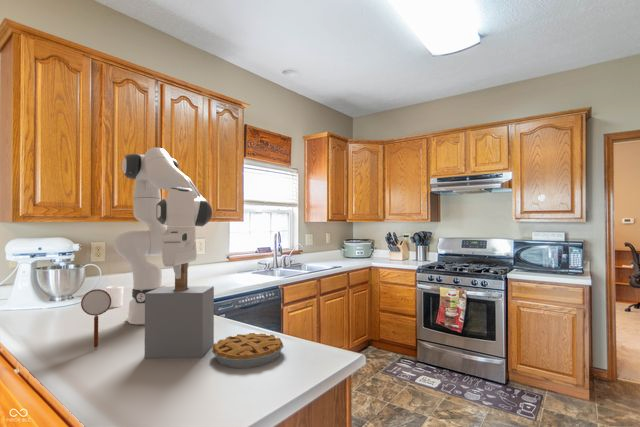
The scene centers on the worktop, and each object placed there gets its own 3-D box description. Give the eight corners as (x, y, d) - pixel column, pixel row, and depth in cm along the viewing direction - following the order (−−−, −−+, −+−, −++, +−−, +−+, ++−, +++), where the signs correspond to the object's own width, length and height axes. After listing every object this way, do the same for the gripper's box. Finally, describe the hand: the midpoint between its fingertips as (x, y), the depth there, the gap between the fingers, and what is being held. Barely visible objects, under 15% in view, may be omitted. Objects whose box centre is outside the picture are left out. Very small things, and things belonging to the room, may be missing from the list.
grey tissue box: (161, 345, 123) (161, 286, 124) (213, 344, 123) (213, 286, 124) (144, 358, 111) (144, 293, 112) (202, 357, 111) (202, 292, 112)
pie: (297, 356, 112) (297, 340, 112) (236, 377, 97) (236, 359, 97) (257, 340, 128) (257, 326, 128) (199, 356, 112) (199, 340, 112)
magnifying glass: (111, 347, 121) (111, 287, 122) (110, 348, 120) (111, 288, 120) (81, 350, 118) (81, 289, 118) (80, 352, 116) (80, 290, 117)
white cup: (122, 307, 180) (122, 287, 181) (104, 308, 177) (104, 288, 178) (124, 304, 188) (124, 285, 188) (107, 305, 185) (107, 286, 185)
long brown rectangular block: (178, 298, 119) (178, 250, 119) (187, 298, 119) (187, 250, 120) (174, 300, 116) (174, 250, 116) (184, 299, 116) (184, 250, 117)
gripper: (183, 234, 129) (183, 273, 128) (158, 236, 108) (158, 282, 108) (201, 234, 129) (201, 273, 128) (179, 236, 108) (178, 282, 108)
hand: (181, 277), depth 118 cm, fingers closed on long brown rectangular block, 3 cm apart
